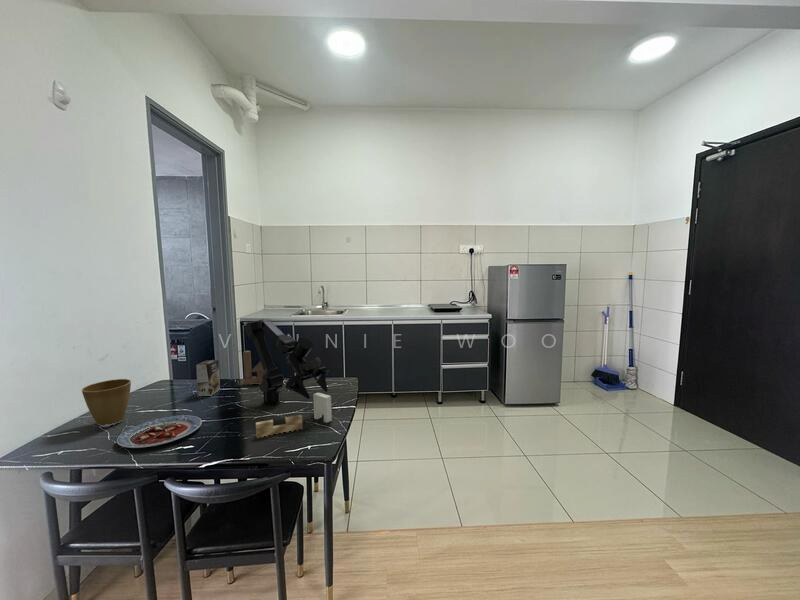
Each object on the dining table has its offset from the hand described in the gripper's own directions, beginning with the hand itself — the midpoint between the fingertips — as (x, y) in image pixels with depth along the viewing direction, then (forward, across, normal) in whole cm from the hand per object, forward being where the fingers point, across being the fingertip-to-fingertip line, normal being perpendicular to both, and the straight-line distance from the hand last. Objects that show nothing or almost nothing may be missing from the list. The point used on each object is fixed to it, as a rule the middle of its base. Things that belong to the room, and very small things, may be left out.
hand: (318, 394), depth 140 cm
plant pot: (-40, -50, +54) cm, 83 cm away
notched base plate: (+5, -17, +9) cm, 20 cm away
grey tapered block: (+8, 0, +5) cm, 10 cm away
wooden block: (-38, +11, +51) cm, 64 cm away
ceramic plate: (-20, -42, +34) cm, 58 cm away
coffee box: (-42, -10, +55) cm, 70 cm away
